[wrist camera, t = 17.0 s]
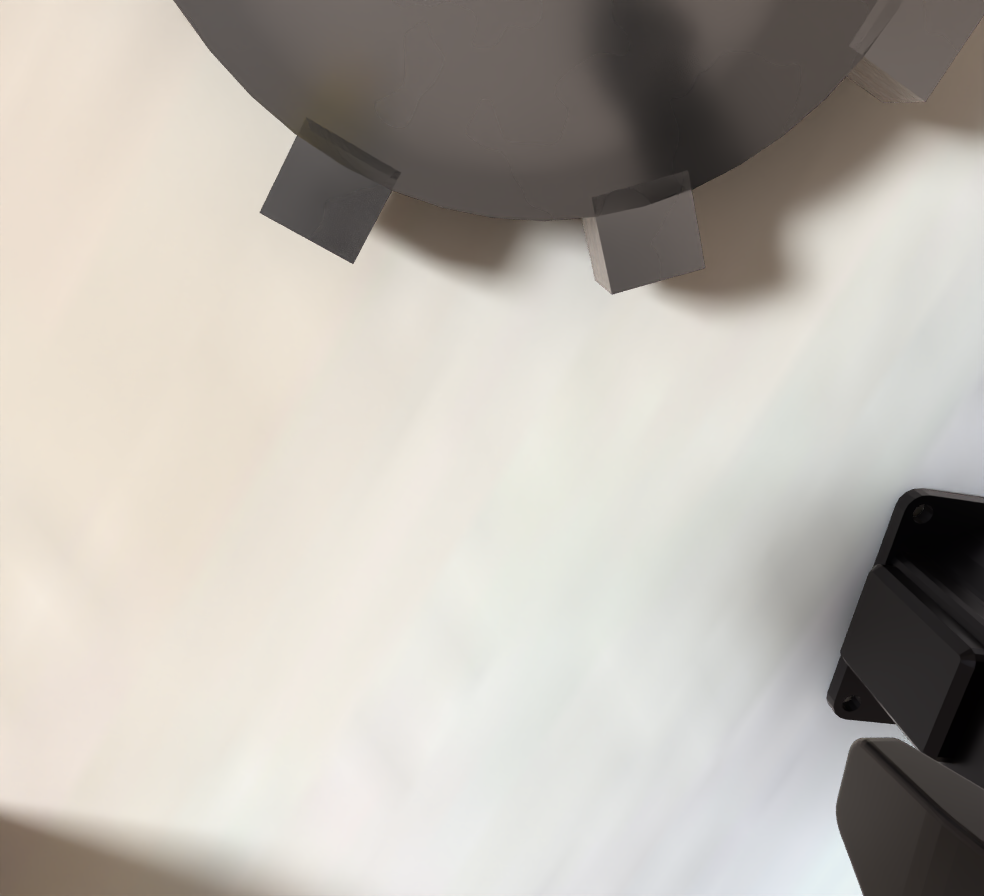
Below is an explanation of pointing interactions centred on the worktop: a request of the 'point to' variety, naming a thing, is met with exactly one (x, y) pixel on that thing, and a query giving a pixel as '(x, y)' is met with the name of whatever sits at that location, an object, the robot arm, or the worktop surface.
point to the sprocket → (556, 104)
